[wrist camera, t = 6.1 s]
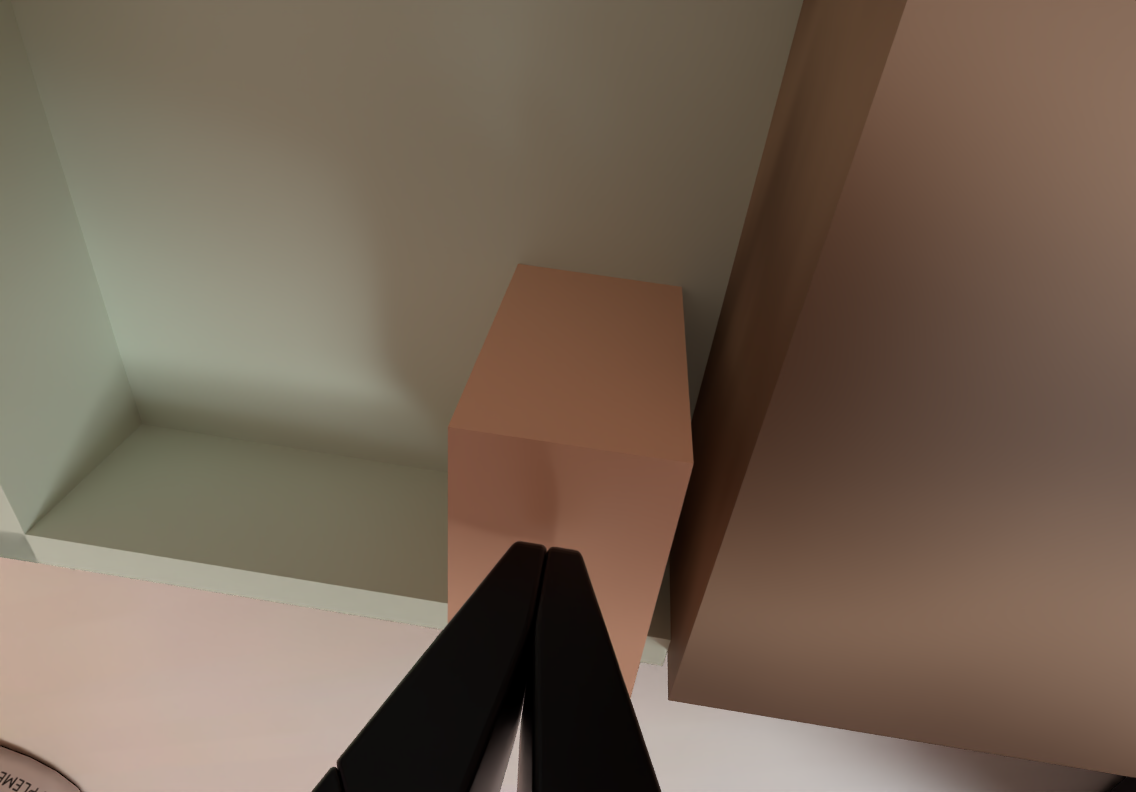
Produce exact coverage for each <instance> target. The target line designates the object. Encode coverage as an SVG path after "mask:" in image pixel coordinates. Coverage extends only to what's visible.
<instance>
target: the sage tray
mask: <svg viewBox="0 0 1136 792" xmlns="http://www.w3.org/2000/svg"><path fill="white" fill-rule="evenodd" d="M802 4H803V0H0V557H4V558H10V559H16V560H22V561H28V562H34V563H40V564H46V565H52V566H58V567H64V568H71V569H77V570H83V571H89V572H95V573H101V574H107V575H113V576H119V577H125V578H131V579H137V580H143V581H149V582H156V583H162V584H168V585H174V586H180V587H186V588H192V589H198V590H204V591H210V592H216V593H222V594H228V595H234V596H240V597H247V598H253V599H259V600H265V601H271V602H277V603H283V604H289V605H295V606H301V607H307V608H313V609H319V610H325V611H332V612H338V613H344V614H350V615H356V616H362V617H368V618H374V619H380V620H386V621H392V622H398V623H404V624H410V625H417V626H423V627H429V628H435V629H441V630H443V629H444V628H445V627H446V625H447V624H448V425H449V423H450V421H451V418H452V416H453V414H454V411H455V409H456V407H457V404H458V402H459V400H460V397H461V395H462V393H463V390H464V388H465V386H466V383H467V381H468V379H469V376H470V374H471V372H472V370H473V367H474V365H475V363H476V360H477V358H478V356H479V353H480V351H481V349H482V346H483V344H484V342H485V339H486V337H487V335H488V332H489V330H490V328H491V325H492V323H493V321H494V318H495V316H496V314H497V311H498V309H499V307H500V304H501V302H502V300H503V297H504V295H505V293H506V290H507V288H508V286H509V283H510V281H511V279H512V277H513V274H514V272H515V270H516V267H517V265H518V264H523V265H531V266H538V267H545V268H552V269H559V270H566V271H573V272H580V273H587V274H595V275H602V276H609V277H616V278H623V279H630V280H637V281H644V282H651V283H658V284H666V285H673V286H680V287H682V296H683V311H684V326H685V341H686V356H687V371H688V386H689V401H690V416H691V421H692V417H693V413H694V410H695V406H696V402H697V398H698V395H699V391H700V387H701V383H702V379H703V376H704V372H705V368H706V364H707V361H708V357H709V353H710V349H711V346H712V342H713V338H714V334H715V331H716V327H717V323H718V319H719V316H720V312H721V308H722V304H723V301H724V297H725V293H726V289H727V286H728V282H729V278H730V274H731V270H732V267H733V263H734V259H735V255H736V252H737V248H738V244H739V240H740V237H741V233H742V229H743V225H744V222H745V218H746V214H747V210H748V207H749V203H750V199H751V195H752V192H753V188H754V184H755V180H756V177H757V173H758V169H759V165H760V161H761V158H762V154H763V150H764V146H765V143H766V139H767V135H768V131H769V128H770V124H771V120H772V116H773V113H774V109H775V105H776V101H777V98H778V94H779V90H780V86H781V83H782V79H783V75H784V71H785V67H786V64H787V60H788V56H789V52H790V49H791V45H792V41H793V37H794V34H795V30H796V26H797V22H798V19H799V15H800V11H801V7H802ZM670 641H671V622H670V564H669V557H668V560H667V564H666V568H665V572H664V575H663V579H662V583H661V586H660V590H659V594H658V597H657V601H656V605H655V609H654V612H653V616H652V620H651V623H650V627H649V631H648V634H647V638H646V642H645V646H644V649H643V653H642V657H641V660H640V662H641V663H647V664H653V665H659V666H663V663H664V660H665V657H666V654H667V651H668V647H669V644H670Z"/></svg>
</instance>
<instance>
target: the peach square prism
mask: <svg viewBox="0 0 1136 792" xmlns="http://www.w3.org/2000/svg"><path fill="white" fill-rule="evenodd" d="M693 464H694V461H693V446H692V431H691V416H690V401H689V386H688V371H687V356H686V341H685V326H684V311H683V296H682V287H680V286H673V285H666V284H658V283H651V282H644V281H637V280H630V279H623V278H616V277H609V276H602V275H595V274H587V273H580V272H573V271H566V270H559V269H552V268H545V267H538V266H531V265H523V264H518V265H517V267H516V270H515V272H514V274H513V277H512V279H511V281H510V283H509V286H508V288H507V290H506V293H505V295H504V297H503V300H502V302H501V304H500V307H499V309H498V311H497V314H496V316H495V318H494V321H493V323H492V325H491V328H490V330H489V332H488V335H487V337H486V339H485V342H484V344H483V346H482V349H481V351H480V353H479V356H478V358H477V360H476V363H475V365H474V367H473V370H472V372H471V374H470V376H469V379H468V381H467V383H466V386H465V388H464V390H463V393H462V395H461V397H460V400H459V402H458V404H457V407H456V409H455V411H454V414H453V416H452V418H451V421H450V423H449V425H448V623H449V622H450V620H451V619H452V618H453V617H454V616H455V614H456V613H457V612H458V611H459V609H460V608H461V607H462V606H463V604H464V603H465V602H466V601H467V599H468V598H469V597H470V596H471V595H472V593H473V592H474V591H475V590H476V588H477V587H478V586H479V585H480V583H481V582H482V581H483V580H484V578H485V577H486V576H487V575H488V574H489V572H490V571H491V570H492V569H493V567H494V566H495V565H496V564H497V562H498V561H499V560H500V559H501V557H502V556H503V555H504V554H505V553H506V551H507V550H508V549H509V548H510V546H511V545H512V544H513V543H515V542H517V541H523V542H529V543H536V544H542V545H544V546H545V547H546V549H547V551H548V549H549V548H550V547H561V548H567V549H573V550H577V551H579V552H580V553H581V554H582V556H583V559H584V562H585V565H586V568H587V571H588V574H589V577H590V580H591V583H592V586H593V589H594V592H595V595H596V598H597V601H598V604H599V607H600V610H601V613H602V616H603V619H604V622H605V625H606V628H607V631H608V634H609V637H610V640H611V643H612V646H613V649H614V652H615V655H616V658H617V661H618V664H619V667H620V670H621V673H622V676H623V678H624V681H625V684H626V687H627V690H628V693H629V696H630V697H631V694H632V690H633V686H634V683H635V679H636V675H637V672H638V668H639V664H640V660H641V657H642V653H643V649H644V646H645V642H646V638H647V634H648V631H649V627H650V623H651V620H652V616H653V612H654V609H655V605H656V601H657V597H658V594H659V590H660V586H661V583H662V579H663V575H664V572H665V568H666V564H667V560H668V557H669V553H670V549H671V546H672V542H673V538H674V534H675V531H676V527H677V523H678V520H679V516H680V512H681V509H682V505H683V501H684V497H685V494H686V490H687V486H688V483H689V479H690V475H691V472H692V468H693Z"/></svg>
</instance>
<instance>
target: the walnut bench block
mask: <svg viewBox="0 0 1136 792" xmlns="http://www.w3.org/2000/svg"><path fill="white" fill-rule="evenodd" d="M691 431H692V446H693V461H694V464H693V468H692V472H691V475H690V479H689V483H688V486H687V490H686V494H685V497H684V501H683V505H682V509H681V512H680V516H679V520H678V523H677V527H676V531H675V534H674V538H673V542H672V546H671V549H670V553H669V564H670V622H671V641H670V644H669V647H668V700H671V701H677V702H683V703H689V704H695V705H701V706H707V707H713V708H719V709H725V710H731V711H737V712H743V713H749V714H755V715H761V716H767V717H773V718H779V719H785V720H791V721H797V722H803V723H809V724H815V725H821V726H827V727H833V728H839V729H845V730H851V731H857V732H863V733H869V734H875V735H881V736H887V737H893V738H899V739H905V740H911V741H917V742H923V743H929V744H935V745H942V746H948V747H954V748H960V749H966V750H972V751H978V752H984V753H990V754H996V755H1002V756H1008V757H1014V758H1020V759H1026V760H1032V761H1038V762H1044V763H1050V764H1056V765H1062V766H1068V767H1074V768H1080V769H1086V770H1092V771H1098V772H1104V773H1110V774H1116V775H1122V776H1128V777H1134V778H1136V0H803V4H802V7H801V11H800V15H799V19H798V22H797V26H796V30H795V34H794V37H793V41H792V45H791V49H790V52H789V56H788V60H787V64H786V67H785V71H784V75H783V79H782V83H781V86H780V90H779V94H778V98H777V101H776V105H775V109H774V113H773V116H772V120H771V124H770V128H769V131H768V135H767V139H766V143H765V146H764V150H763V154H762V158H761V161H760V165H759V169H758V173H757V177H756V180H755V184H754V188H753V192H752V195H751V199H750V203H749V207H748V210H747V214H746V218H745V222H744V225H743V229H742V233H741V237H740V240H739V244H738V248H737V252H736V255H735V259H734V263H733V267H732V270H731V274H730V278H729V282H728V286H727V289H726V293H725V297H724V301H723V304H722V308H721V312H720V316H719V319H718V323H717V327H716V331H715V334H714V338H713V342H712V346H711V349H710V353H709V357H708V361H707V364H706V368H705V372H704V376H703V379H702V383H701V387H700V391H699V395H698V398H697V402H696V406H695V410H694V413H693V417H692V421H691Z"/></svg>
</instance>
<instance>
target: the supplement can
mask: <svg viewBox="0 0 1136 792" xmlns="http://www.w3.org/2000/svg"><path fill="white" fill-rule="evenodd" d="M0 792H80V790H79V789H78V788H77V787H76V786H75V785H73V784H72V783H71V782H70V781H68V780H67V779H66V778H64V777H63V776H62V775H60V774H59V773H58V772H56V771H55V770H53V769H51V768H49V767H47V766H45V765H43V764H41V763H40V762H38V761H36V760H34V759H32V758H30V757H28V756H25V755H22V754H20V753H17V752H14V751H12V750H9V749H6V748H3V747H1V746H0Z"/></svg>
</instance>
